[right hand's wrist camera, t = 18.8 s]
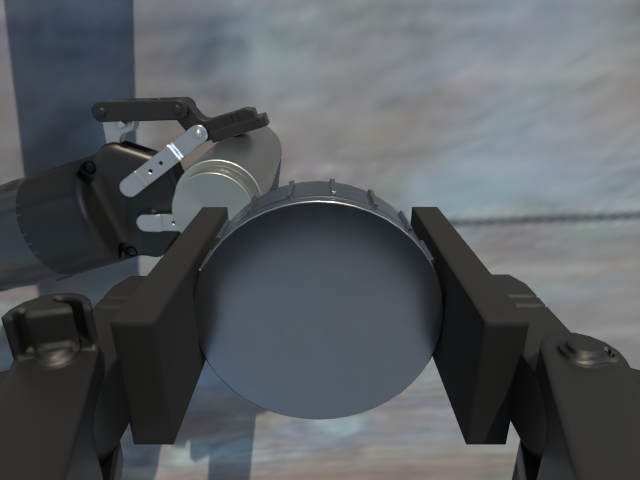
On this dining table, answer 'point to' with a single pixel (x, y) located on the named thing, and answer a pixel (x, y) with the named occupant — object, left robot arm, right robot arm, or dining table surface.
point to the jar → (228, 175)
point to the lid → (318, 301)
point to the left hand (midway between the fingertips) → (278, 157)
